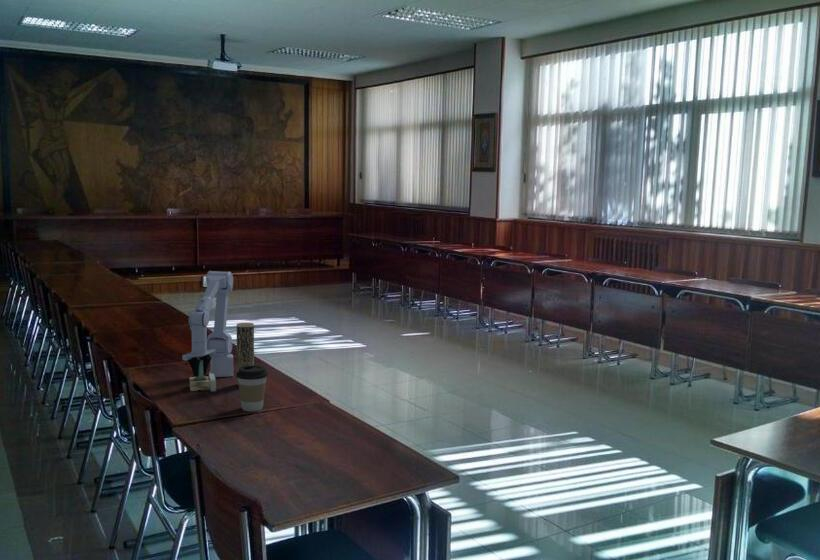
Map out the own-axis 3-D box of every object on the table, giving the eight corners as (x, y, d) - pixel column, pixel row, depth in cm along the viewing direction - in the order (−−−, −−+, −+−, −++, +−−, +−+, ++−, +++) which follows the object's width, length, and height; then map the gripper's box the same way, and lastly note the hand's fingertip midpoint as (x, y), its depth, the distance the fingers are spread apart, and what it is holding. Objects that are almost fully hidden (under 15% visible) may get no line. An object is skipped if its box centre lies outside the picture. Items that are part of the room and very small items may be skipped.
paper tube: (256, 383, 303) (256, 323, 300) (251, 387, 297) (250, 326, 293) (240, 382, 304) (239, 322, 301) (234, 386, 297) (234, 325, 294)
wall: (214, 382, 302) (213, 373, 302) (216, 391, 291) (215, 381, 290) (208, 383, 302) (208, 373, 301) (210, 391, 290) (210, 381, 290)
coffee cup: (251, 402, 278) (251, 363, 276) (274, 407, 272) (274, 367, 270) (229, 409, 268) (229, 369, 266) (253, 415, 262) (252, 374, 260)
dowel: (201, 378, 296) (201, 359, 296) (205, 380, 294) (204, 360, 293) (194, 380, 294) (194, 360, 293) (198, 381, 292) (197, 361, 291)
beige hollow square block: (209, 384, 300) (209, 376, 299) (210, 389, 292) (210, 381, 292) (189, 385, 297) (189, 377, 297) (190, 391, 290) (190, 382, 290)
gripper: (208, 337, 300) (208, 369, 302) (177, 342, 289) (177, 376, 291) (219, 339, 296) (219, 372, 298) (188, 345, 285) (189, 380, 287)
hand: (199, 375), depth 294 cm, fingers closed on dowel, 3 cm apart
